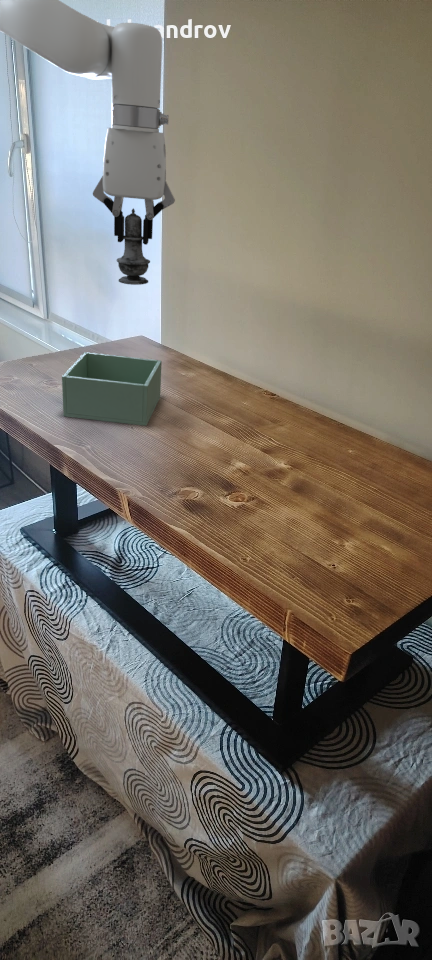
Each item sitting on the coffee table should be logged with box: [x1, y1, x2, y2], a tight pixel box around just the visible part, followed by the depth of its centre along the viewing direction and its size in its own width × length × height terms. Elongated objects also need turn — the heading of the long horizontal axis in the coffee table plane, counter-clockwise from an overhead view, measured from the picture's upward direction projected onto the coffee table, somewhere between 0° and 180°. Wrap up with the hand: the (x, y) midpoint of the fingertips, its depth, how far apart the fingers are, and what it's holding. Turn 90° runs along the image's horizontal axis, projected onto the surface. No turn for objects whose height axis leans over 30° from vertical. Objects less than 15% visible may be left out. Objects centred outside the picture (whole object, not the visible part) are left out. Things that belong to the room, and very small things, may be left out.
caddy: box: [61, 351, 163, 427], centre depth 101 cm, size 13×12×7 cm
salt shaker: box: [116, 207, 151, 286], centre depth 108 cm, size 6×6×12 cm
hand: (133, 241), depth 108 cm, fingers closed on salt shaker, 3 cm apart
